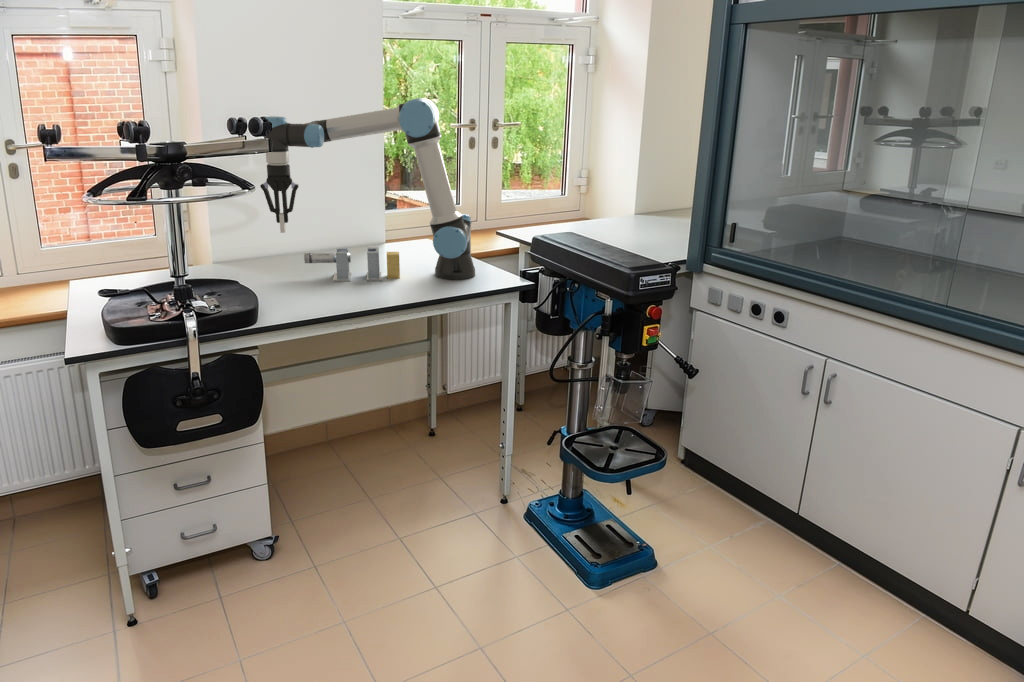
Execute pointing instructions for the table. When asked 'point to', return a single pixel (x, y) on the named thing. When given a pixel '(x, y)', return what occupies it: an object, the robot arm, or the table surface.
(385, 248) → the table surface
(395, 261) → the spacer
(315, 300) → the table surface
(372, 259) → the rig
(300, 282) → the table surface
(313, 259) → the shaft
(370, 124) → the robot arm
